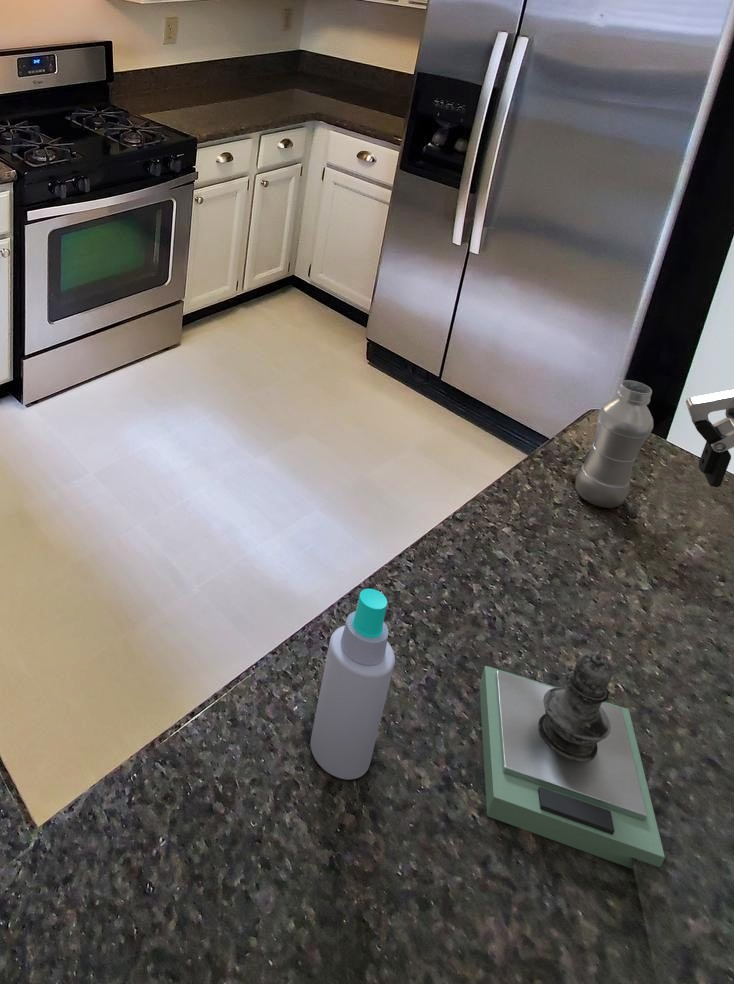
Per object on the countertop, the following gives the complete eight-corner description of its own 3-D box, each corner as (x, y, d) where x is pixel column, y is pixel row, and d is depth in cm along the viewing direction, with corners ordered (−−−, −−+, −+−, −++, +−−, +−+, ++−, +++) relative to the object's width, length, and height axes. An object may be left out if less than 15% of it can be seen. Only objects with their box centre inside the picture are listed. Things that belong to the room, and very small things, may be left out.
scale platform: (619, 713, 85) (622, 708, 84) (644, 821, 75) (647, 816, 74) (495, 675, 89) (496, 670, 89) (502, 772, 79) (504, 767, 78)
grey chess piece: (536, 700, 85) (565, 619, 80) (600, 727, 82) (635, 644, 77) (533, 745, 80) (564, 661, 76) (601, 775, 78) (637, 690, 73)
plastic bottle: (581, 479, 125) (617, 369, 116) (629, 501, 120) (671, 389, 112) (564, 496, 121) (601, 384, 113) (613, 520, 116) (656, 405, 108)
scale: (620, 727, 86) (630, 705, 85) (655, 877, 73) (667, 853, 71) (479, 683, 91) (486, 661, 90) (486, 816, 78) (495, 792, 76)
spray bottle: (297, 741, 85) (326, 587, 76) (339, 718, 87) (372, 566, 78) (338, 792, 80) (374, 634, 71) (382, 765, 82) (422, 609, 73)
